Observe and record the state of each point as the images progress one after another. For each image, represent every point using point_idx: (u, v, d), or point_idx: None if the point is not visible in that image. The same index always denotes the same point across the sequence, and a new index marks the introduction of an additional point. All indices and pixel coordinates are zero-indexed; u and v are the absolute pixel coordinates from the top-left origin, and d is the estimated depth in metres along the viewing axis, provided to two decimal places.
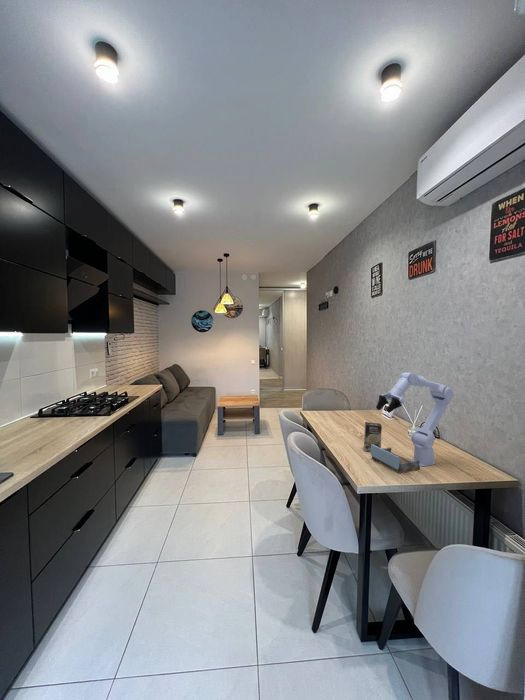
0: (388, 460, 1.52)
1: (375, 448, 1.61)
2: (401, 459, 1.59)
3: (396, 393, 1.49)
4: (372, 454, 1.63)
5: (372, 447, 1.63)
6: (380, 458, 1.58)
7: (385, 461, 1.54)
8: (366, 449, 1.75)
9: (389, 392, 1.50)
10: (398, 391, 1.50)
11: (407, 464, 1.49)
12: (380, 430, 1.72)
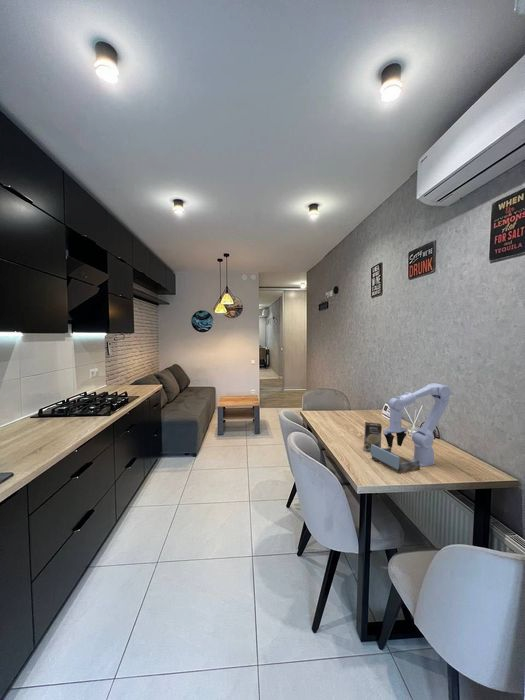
0: (388, 460, 1.52)
1: (375, 448, 1.61)
2: (401, 459, 1.59)
3: None
4: (372, 454, 1.63)
5: (372, 447, 1.63)
6: (380, 458, 1.58)
7: (385, 461, 1.54)
8: (366, 449, 1.75)
9: None
10: None
11: (407, 464, 1.49)
12: (380, 430, 1.72)
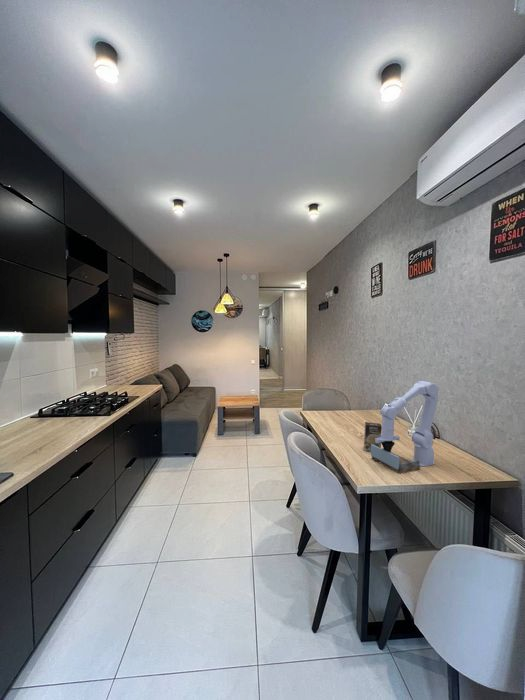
0: (388, 460, 1.52)
1: (375, 448, 1.61)
2: (401, 459, 1.59)
3: (382, 434, 1.56)
4: (372, 454, 1.63)
5: (372, 447, 1.63)
6: (380, 458, 1.58)
7: (385, 461, 1.54)
8: (366, 449, 1.75)
9: (381, 436, 1.60)
10: (382, 431, 1.57)
11: (407, 464, 1.49)
12: (380, 430, 1.72)
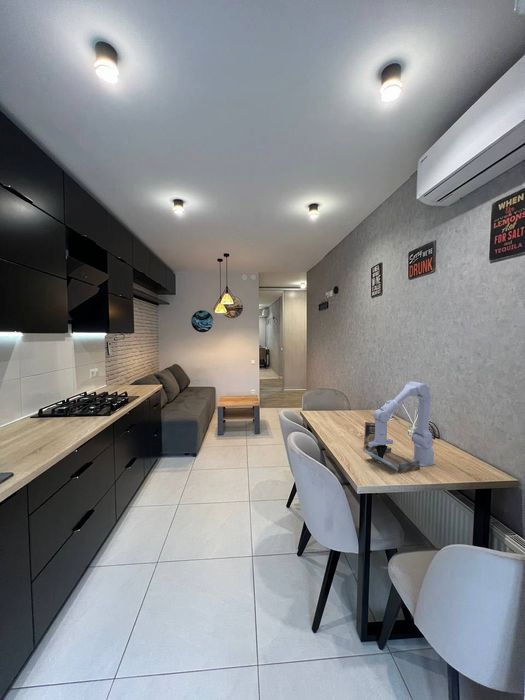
0: (386, 464, 1.52)
1: (370, 454, 1.60)
2: (401, 459, 1.59)
3: (375, 438, 1.55)
4: (372, 456, 1.63)
5: (367, 453, 1.62)
6: None
7: None
8: (366, 449, 1.75)
9: (374, 440, 1.58)
10: (375, 435, 1.55)
11: (407, 464, 1.49)
12: None
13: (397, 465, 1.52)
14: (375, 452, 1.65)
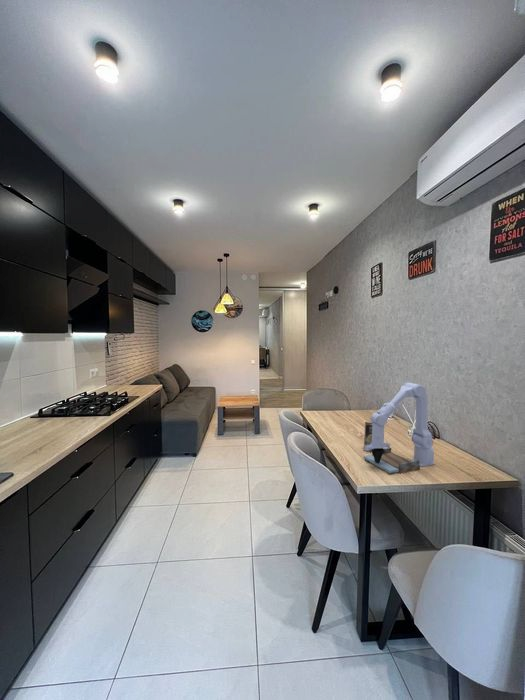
0: None
1: None
2: (401, 459, 1.59)
3: (372, 442, 1.54)
4: None
5: None
6: None
7: None
8: None
9: (371, 443, 1.57)
10: (372, 438, 1.54)
11: (407, 464, 1.49)
12: None
13: (397, 465, 1.52)
14: None
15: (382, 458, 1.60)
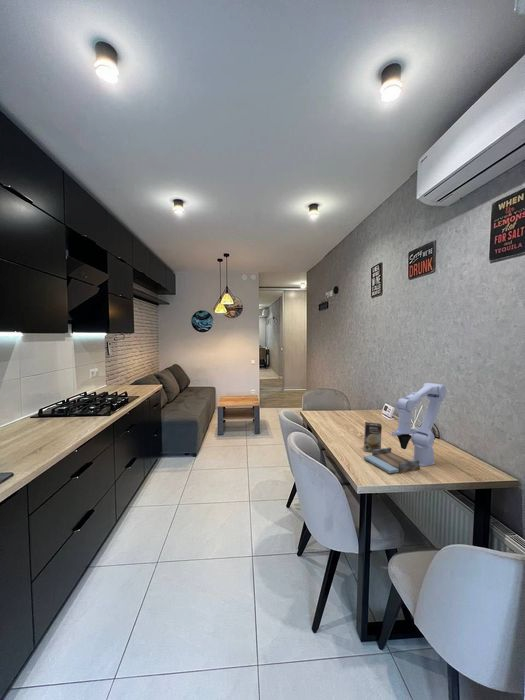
0: None
1: None
2: (401, 459, 1.59)
3: (398, 427, 1.52)
4: None
5: None
6: None
7: None
8: (366, 449, 1.75)
9: (397, 429, 1.55)
10: (398, 424, 1.52)
11: (407, 464, 1.49)
12: (380, 430, 1.72)
13: (397, 465, 1.52)
14: (375, 452, 1.65)
15: (382, 458, 1.60)
